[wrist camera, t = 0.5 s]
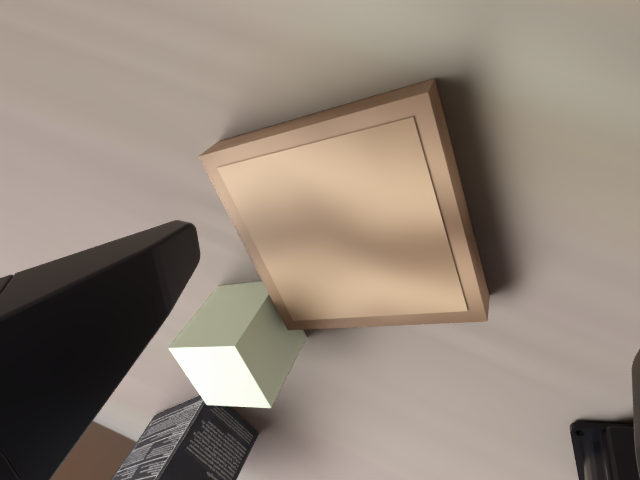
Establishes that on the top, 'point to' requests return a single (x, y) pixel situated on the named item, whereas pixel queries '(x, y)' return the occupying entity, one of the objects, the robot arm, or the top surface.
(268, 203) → the base board
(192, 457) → the small box
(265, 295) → the block
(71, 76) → the top surface
